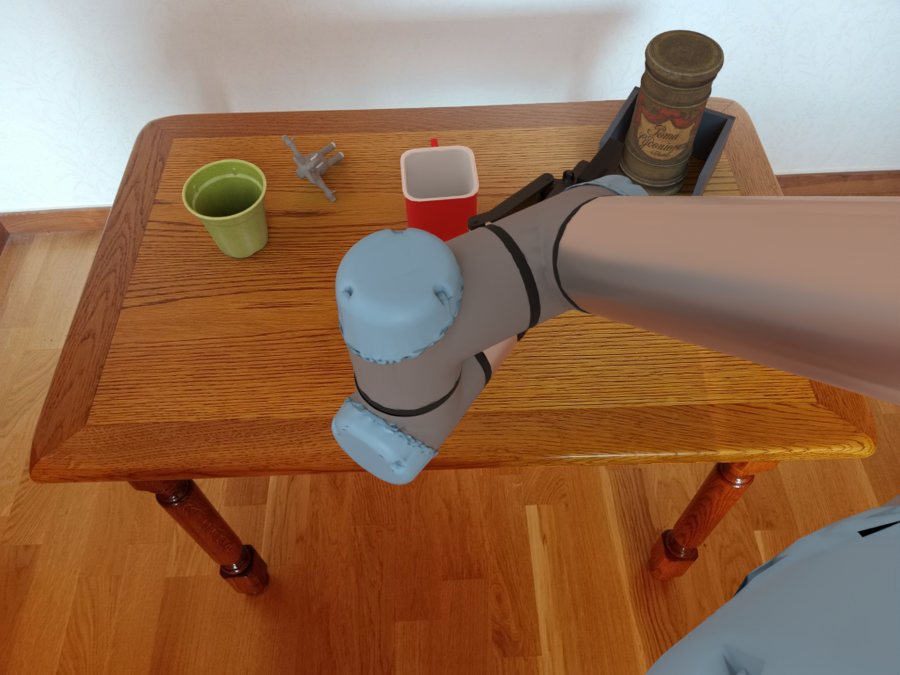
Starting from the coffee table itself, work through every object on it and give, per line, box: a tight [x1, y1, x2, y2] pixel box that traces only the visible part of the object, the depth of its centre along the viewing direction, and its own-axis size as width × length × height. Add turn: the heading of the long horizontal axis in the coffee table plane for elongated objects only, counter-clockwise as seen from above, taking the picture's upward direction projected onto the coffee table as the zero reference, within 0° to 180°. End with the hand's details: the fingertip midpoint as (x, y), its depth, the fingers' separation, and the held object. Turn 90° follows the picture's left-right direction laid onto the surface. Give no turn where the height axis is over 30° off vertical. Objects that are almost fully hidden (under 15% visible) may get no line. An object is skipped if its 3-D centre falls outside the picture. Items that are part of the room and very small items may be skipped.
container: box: [614, 29, 725, 196], centre depth 84 cm, size 9×9×18 cm
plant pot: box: [181, 158, 269, 259], centre depth 83 cm, size 9×9×9 cm
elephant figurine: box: [281, 133, 345, 203], centre depth 90 cm, size 10×6×9 cm
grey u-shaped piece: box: [597, 85, 737, 196], centre depth 89 cm, size 12×13×7 cm
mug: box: [399, 137, 480, 242], centre depth 82 cm, size 12×8×11 cm
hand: (614, 151), depth 68 cm, fingers closed
